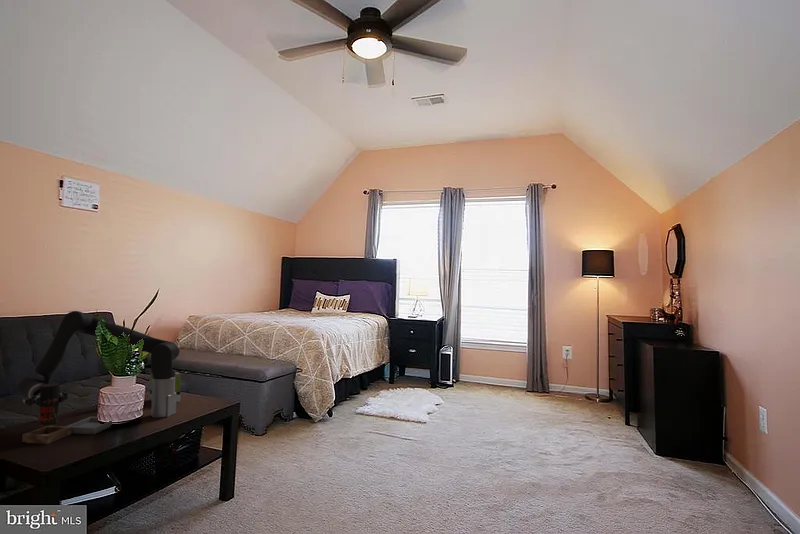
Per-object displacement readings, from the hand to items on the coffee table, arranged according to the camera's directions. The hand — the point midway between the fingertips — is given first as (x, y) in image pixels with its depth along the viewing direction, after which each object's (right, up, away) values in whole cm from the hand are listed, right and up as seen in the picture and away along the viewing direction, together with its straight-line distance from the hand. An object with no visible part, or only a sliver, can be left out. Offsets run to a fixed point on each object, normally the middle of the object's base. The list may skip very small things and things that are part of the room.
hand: (51, 401), depth 163 cm
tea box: (+13, -17, +55) cm, 59 cm away
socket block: (-2, -15, +1) cm, 15 cm away
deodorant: (-2, -9, +1) cm, 10 cm away
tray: (+7, -15, +13) cm, 21 cm away
